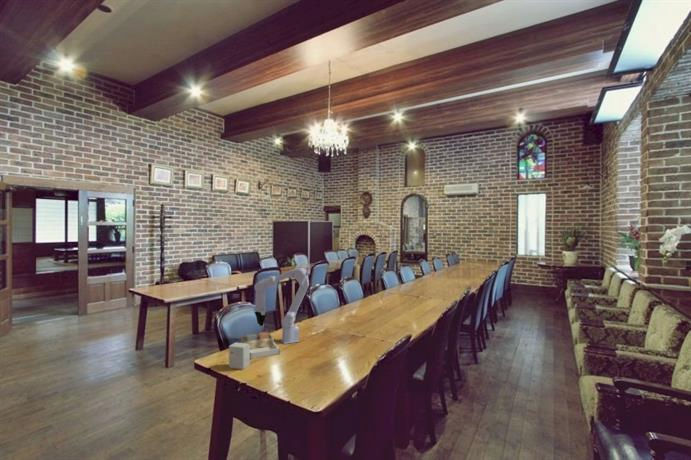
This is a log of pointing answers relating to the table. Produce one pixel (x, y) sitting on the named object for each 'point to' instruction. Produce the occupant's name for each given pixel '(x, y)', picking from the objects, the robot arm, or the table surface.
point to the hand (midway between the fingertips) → (260, 324)
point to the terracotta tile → (263, 335)
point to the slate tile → (251, 337)
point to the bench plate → (258, 342)
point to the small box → (239, 355)
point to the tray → (265, 351)
